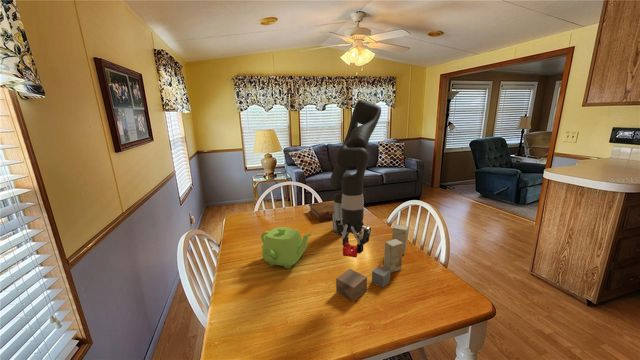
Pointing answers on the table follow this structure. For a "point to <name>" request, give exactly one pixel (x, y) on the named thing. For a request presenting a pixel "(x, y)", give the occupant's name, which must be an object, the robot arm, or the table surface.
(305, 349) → the table surface
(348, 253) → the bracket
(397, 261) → the skincare box
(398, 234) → the beige stone tall block
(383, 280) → the grey block
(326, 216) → the diary
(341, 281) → the walnut block
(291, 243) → the teapot
